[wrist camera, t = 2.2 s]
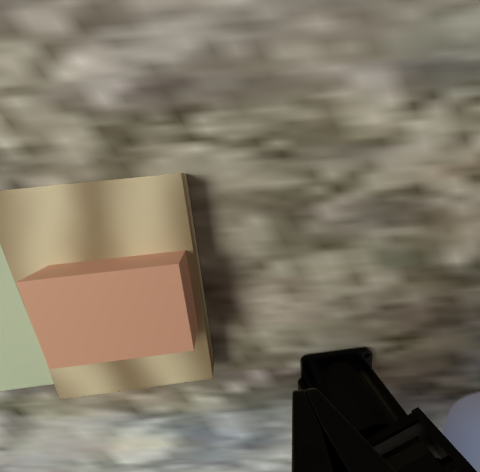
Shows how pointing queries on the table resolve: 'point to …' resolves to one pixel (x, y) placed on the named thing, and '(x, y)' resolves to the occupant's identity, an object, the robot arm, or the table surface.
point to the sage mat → (18, 339)
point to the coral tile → (112, 308)
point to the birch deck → (104, 247)
